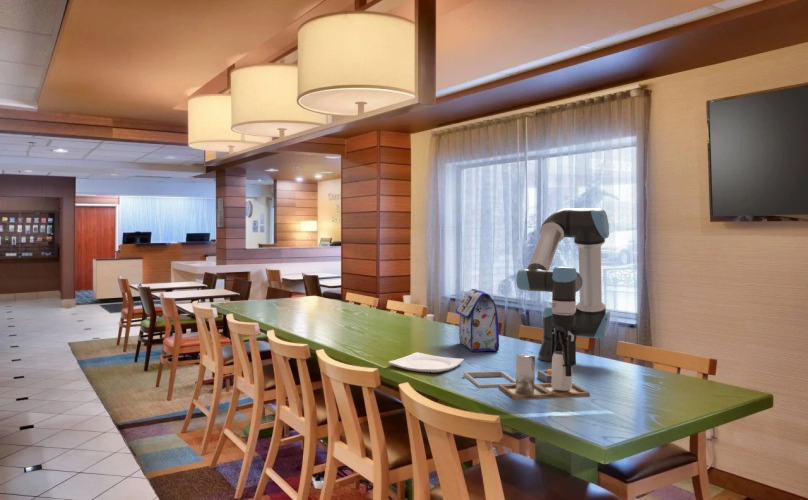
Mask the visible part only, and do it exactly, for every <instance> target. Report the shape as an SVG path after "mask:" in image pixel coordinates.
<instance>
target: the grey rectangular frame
mask: <svg viewBox="0 0 808 500" xmlns="http://www.w3.org/2000/svg"><path fill="white" fill-rule="evenodd" d="M462 376H463V378H464V379H466V380H467V379H468V380H469V381H471V382H472V383H473V384H474V385H475V386H476V387H478V388H479V389H480V388H499V385H513V384H516V378H513V377H512V376H511V375H509V374H507V372H504V370H492V371H491V370H490V371H489V370H488V371H463V375H462ZM491 377H492V378H495V377H500V378H506V379H507V380H509V381H510V382H508V383H507V382H506V383H503V382H502V383H501V382H500V383H480V381H477V380H476V379H475V378H491Z"/></svg>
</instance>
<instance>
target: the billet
mask: <svg viewBox="0 0 808 500" xmlns="http://www.w3.org/2000/svg"><path fill="white" fill-rule="evenodd" d="M515 359H516V360H515V380H516V393H517V394H521V395H526V394H534V384H536V382H535V378H536V375H535V374H536V356H535V355H533V354H528V353H527V354H526V353H520V354H516V356H515Z"/></svg>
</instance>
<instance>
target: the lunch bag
mask: <svg viewBox="0 0 808 500" xmlns="http://www.w3.org/2000/svg"><path fill="white" fill-rule="evenodd" d="M455 313H456V314H457V315H459V333H458V334H459V343H460V344H461V345H464V346H465V347H466V348H468V349H469V350H471V352H475V353H476V352H486V351H491V352H492V351H493V352H499V350H500V329H499V319H498V318H499V317H498V316H499V315H498V311H497V305H496V302H495V300H494V299H493V298H492V296H491V295H490V294H488V293H487V292H485V291H484V290H483V291H482V290H478V289H477V288H471V289H469V290H468V291H467V292H466V293H465V294H464V296H463V298H462V300H461V302H460V303H459V304H458V306H457V308H456V309H455Z"/></svg>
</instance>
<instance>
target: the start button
mask: <svg viewBox="0 0 808 500" xmlns="http://www.w3.org/2000/svg"><path fill="white" fill-rule="evenodd" d="M546 370H547V374H549V375H552V368H548V369H546Z"/></svg>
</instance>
